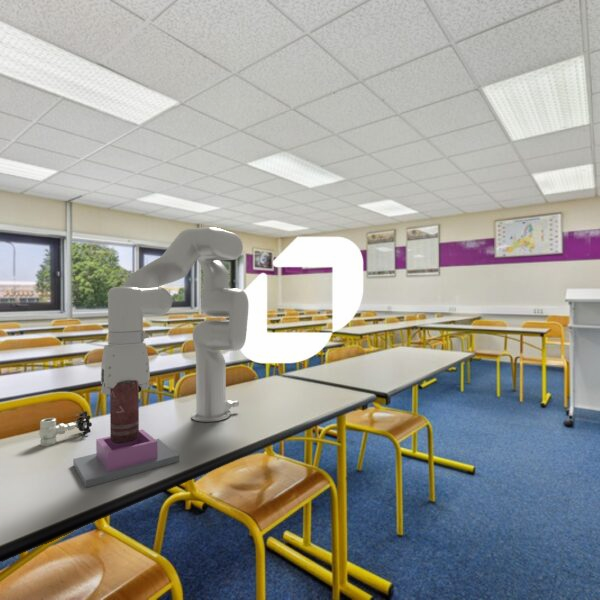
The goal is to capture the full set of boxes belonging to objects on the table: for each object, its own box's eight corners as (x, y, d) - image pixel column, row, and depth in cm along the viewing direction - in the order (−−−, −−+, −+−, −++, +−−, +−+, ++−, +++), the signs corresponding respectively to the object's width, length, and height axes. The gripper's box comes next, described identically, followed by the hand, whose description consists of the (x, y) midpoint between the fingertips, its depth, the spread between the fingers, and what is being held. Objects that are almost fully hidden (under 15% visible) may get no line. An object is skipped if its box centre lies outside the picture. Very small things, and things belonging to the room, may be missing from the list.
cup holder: (158, 444, 104) (158, 423, 104) (179, 461, 93) (178, 438, 93) (73, 465, 91) (73, 442, 91) (85, 487, 80) (85, 461, 80)
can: (136, 443, 89) (135, 382, 89) (106, 444, 88) (106, 383, 88) (142, 433, 95) (142, 377, 95) (115, 435, 94) (114, 377, 94)
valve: (44, 449, 101) (92, 436, 111) (44, 424, 101) (91, 413, 110) (35, 443, 105) (81, 431, 115) (34, 419, 105) (81, 409, 115)
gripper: (152, 335, 99) (152, 406, 100) (87, 339, 90) (87, 418, 90) (162, 337, 94) (163, 413, 94) (94, 342, 84) (95, 426, 84)
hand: (126, 415), depth 92 cm, fingers closed
